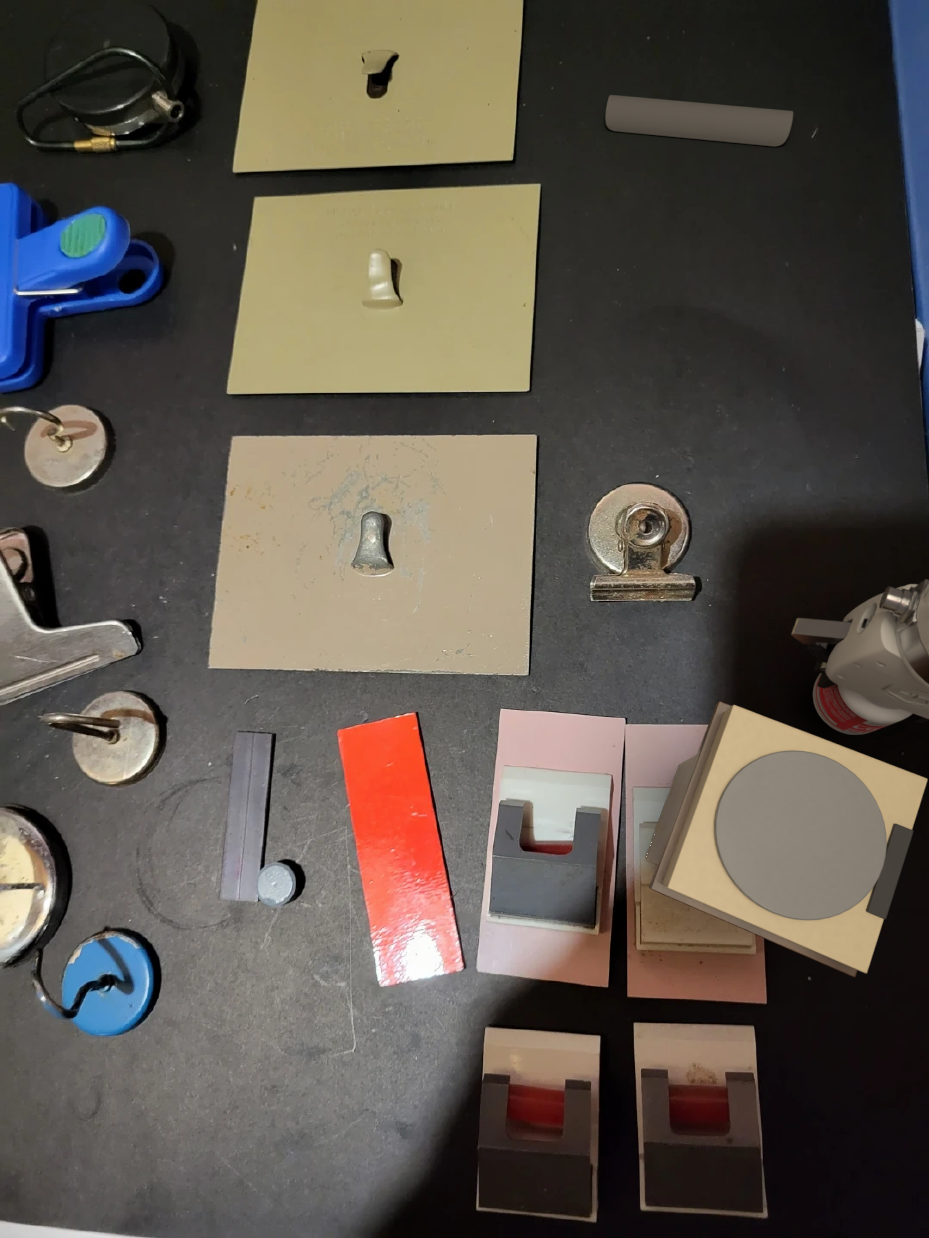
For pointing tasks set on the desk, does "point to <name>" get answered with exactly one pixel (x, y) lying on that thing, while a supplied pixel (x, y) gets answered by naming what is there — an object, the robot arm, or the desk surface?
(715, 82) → the desk surface
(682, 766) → the stand
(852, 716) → the pill bottle
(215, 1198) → the desk surface
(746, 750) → the scale
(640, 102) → the gray half cylinder
